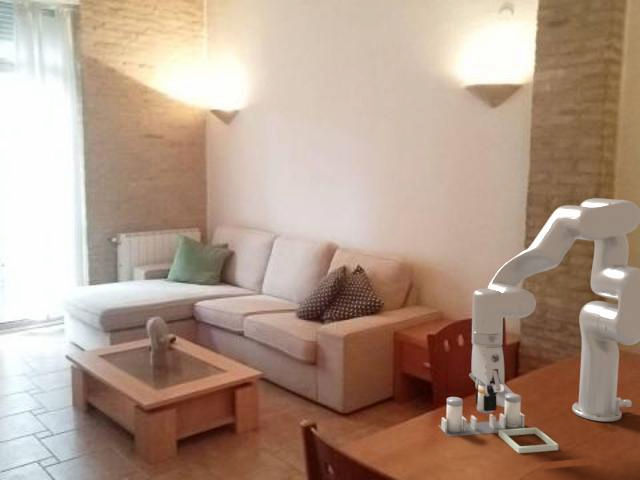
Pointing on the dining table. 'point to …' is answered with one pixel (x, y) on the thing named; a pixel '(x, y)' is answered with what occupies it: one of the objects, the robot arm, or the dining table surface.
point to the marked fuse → (482, 397)
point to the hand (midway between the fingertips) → (485, 406)
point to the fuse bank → (460, 427)
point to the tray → (525, 449)
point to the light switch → (500, 395)
